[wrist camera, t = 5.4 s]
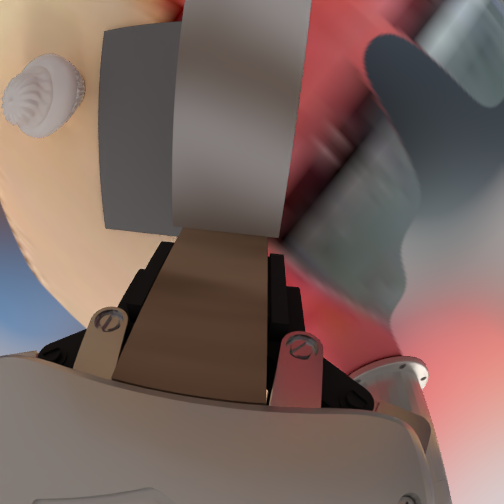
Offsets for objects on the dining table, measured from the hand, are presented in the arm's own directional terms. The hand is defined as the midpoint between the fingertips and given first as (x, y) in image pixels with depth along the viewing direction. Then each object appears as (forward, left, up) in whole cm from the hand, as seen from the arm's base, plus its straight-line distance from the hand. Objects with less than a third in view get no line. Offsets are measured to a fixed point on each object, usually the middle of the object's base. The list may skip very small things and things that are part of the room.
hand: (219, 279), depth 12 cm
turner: (+6, 0, -1) cm, 6 cm away
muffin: (+8, +14, -10) cm, 19 cm away
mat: (+5, +8, -10) cm, 13 cm away
